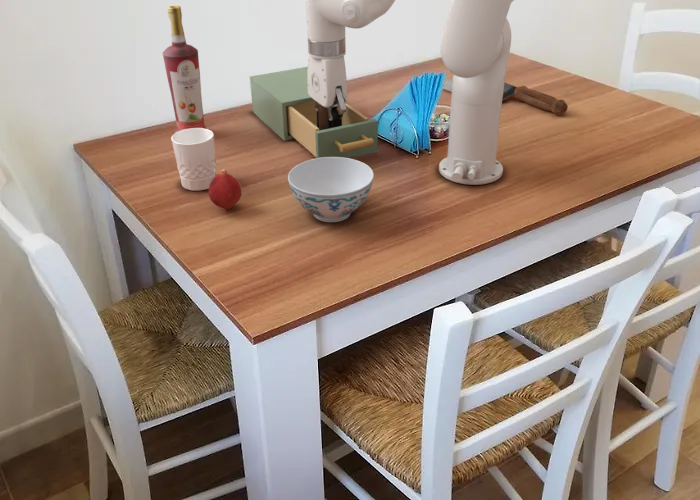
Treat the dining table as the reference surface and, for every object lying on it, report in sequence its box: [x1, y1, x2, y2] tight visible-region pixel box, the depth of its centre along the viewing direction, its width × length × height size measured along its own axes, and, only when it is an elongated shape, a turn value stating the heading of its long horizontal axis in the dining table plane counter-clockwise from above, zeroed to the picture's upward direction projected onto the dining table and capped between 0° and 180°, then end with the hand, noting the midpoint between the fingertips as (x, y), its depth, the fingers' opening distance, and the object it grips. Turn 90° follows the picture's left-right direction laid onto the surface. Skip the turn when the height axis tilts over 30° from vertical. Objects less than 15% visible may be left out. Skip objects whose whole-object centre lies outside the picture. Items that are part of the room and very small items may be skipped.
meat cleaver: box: [442, 77, 568, 116], centre depth 175 cm, size 34×11×4 cm, turn 36°
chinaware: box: [287, 157, 375, 223], centre depth 126 cm, size 15×15×8 cm
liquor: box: [162, 5, 208, 133], centre depth 152 cm, size 7×7×28 cm
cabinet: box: [249, 66, 315, 142], centre depth 164 cm, size 20×15×9 cm
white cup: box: [170, 128, 217, 192], centre depth 137 cm, size 8×8×10 cm
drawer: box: [286, 101, 379, 159], centre depth 150 cm, size 23×14×7 cm, turn 27°
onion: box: [208, 169, 242, 211], centre depth 128 cm, size 6×6×8 cm
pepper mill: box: [318, 101, 337, 131], centre depth 150 cm, size 4×4×9 cm
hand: (329, 131), depth 151 cm, fingers closed on pepper mill, 4 cm apart
